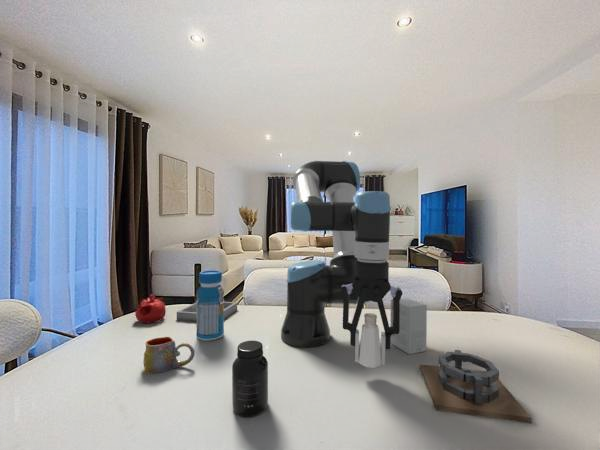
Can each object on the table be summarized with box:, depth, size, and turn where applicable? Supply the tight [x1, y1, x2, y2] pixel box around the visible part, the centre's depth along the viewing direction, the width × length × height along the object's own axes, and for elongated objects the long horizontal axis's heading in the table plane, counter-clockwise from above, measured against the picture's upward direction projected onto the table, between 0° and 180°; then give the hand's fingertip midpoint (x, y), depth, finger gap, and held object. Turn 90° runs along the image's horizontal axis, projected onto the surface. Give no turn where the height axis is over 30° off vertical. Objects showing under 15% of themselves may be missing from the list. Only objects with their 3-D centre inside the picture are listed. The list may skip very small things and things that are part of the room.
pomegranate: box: [134, 294, 167, 324], centre depth 103 cm, size 10×10×9 cm
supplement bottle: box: [231, 340, 269, 418], centre depth 55 cm, size 7×7×12 cm
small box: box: [389, 297, 428, 355], centre depth 82 cm, size 8×6×13 cm
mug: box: [142, 336, 196, 374], centre depth 70 cm, size 12×7×7 cm, turn 88°
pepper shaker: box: [358, 312, 382, 369], centre depth 66 cm, size 5×5×11 cm
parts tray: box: [176, 301, 238, 323], centre depth 109 cm, size 16×16×3 cm
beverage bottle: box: [195, 269, 226, 342], centre depth 89 cm, size 8×8×20 cm
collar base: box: [419, 363, 533, 424], centre depth 61 cm, size 16×16×1 cm
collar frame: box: [438, 349, 500, 406], centre depth 61 cm, size 10×13×5 cm
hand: (369, 360), depth 66 cm, fingers closed on pepper shaker, 5 cm apart
